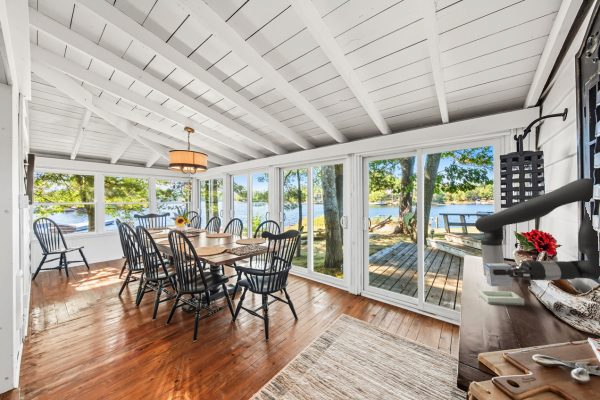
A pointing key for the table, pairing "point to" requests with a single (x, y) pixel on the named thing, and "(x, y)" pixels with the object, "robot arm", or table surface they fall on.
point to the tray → (501, 297)
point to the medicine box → (498, 279)
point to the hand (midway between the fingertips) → (490, 270)
